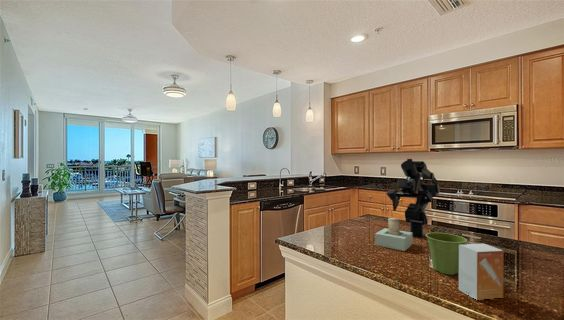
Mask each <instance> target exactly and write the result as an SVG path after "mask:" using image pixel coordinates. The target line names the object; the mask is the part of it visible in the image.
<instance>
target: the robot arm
mask: <svg viewBox="0 0 564 320" xmlns="http://www.w3.org/2000/svg"><path fill="white" fill-rule="evenodd" d="M400 167H401V169H402V171H403V172H402V173H403V174H404V176H405V177H406V179H397V184H396V187H397V188H399V190H400V191H401V192H399V191H397V189H388V190H387V192H386V195H387V197H388V198H389V199H390V201H391V202H392V210H393V212H396V211H397V208H398V207H399V204H400V199H401V198H409V199H416V201H415V202H414V203H413V202H410V203H409V204H408V206H407V208H406V209H405V210H404V218H405V223H409V232H412V233H413V237H415V238H424V237H426V233H424V226H427V225H428V221H429V220H428V216H427V214H426V212H425V210H426V208H427V206H428V205H429V203H432V202H433V198H435V197H437V196H438V195H439V194H440V192H441V187H440V182H439V180H438V179H437V178H436V177H435V174H434V172H431V170H429V169H428V166H427V164H426V162H425V161H423V160H421V161H419V160H418V161H417V160H413V159H412V158H406V160H404V161H403V162H402V163H401V164H400ZM421 178H422V179H421ZM425 180H427V181H431V182H432V183H424V182H425ZM419 185H420V186H419Z"/></svg>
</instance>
